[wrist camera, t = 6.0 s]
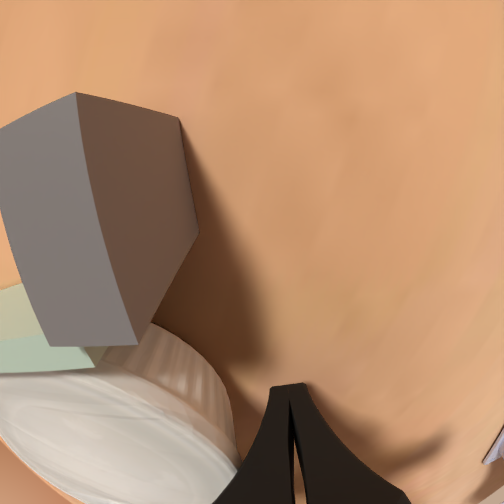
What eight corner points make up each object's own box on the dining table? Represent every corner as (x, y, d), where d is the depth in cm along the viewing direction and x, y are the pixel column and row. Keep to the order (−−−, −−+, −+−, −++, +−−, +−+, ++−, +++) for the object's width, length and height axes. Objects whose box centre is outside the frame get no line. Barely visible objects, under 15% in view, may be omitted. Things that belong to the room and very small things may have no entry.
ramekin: (84, 441, 16) (57, 502, 11) (7, 289, 12) (-61, 345, 7) (257, 454, 15) (257, 533, 10) (231, 275, 12) (215, 372, 7)
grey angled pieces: (178, 117, 10) (75, 92, 4) (272, 510, 18) (274, 579, 12) (123, 131, 10) (-13, 136, 4) (246, 512, 18) (245, 580, 12)
